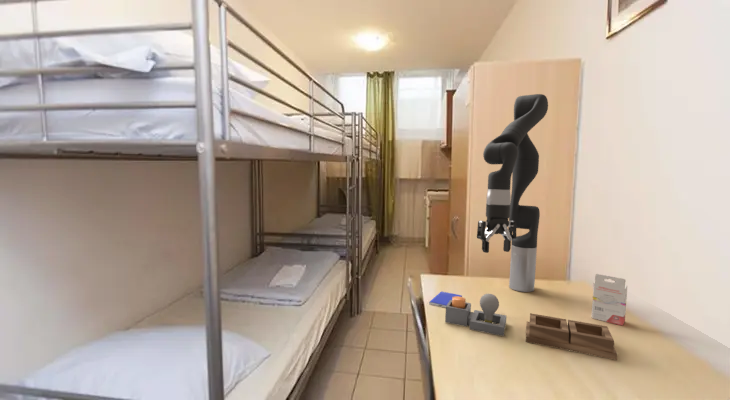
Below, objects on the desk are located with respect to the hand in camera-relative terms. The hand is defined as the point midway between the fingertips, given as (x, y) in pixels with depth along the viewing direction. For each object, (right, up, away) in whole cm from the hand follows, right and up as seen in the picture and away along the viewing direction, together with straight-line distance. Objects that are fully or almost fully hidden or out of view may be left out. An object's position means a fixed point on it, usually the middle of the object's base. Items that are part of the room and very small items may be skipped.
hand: (496, 251), depth 121 cm
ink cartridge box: (+34, -21, -5) cm, 40 cm away
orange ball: (-15, -17, -8) cm, 24 cm away
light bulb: (-7, -21, -11) cm, 25 cm away
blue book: (-15, -20, +9) cm, 26 cm away
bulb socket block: (-10, -21, -10) cm, 25 cm away
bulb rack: (+13, -22, -20) cm, 32 cm away
